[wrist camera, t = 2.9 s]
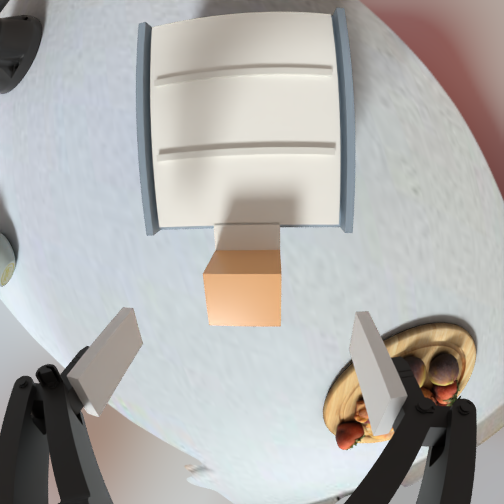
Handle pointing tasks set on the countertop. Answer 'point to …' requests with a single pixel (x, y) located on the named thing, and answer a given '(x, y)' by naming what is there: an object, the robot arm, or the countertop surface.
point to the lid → (245, 145)
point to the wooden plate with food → (425, 371)
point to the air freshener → (6, 261)
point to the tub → (345, 128)
